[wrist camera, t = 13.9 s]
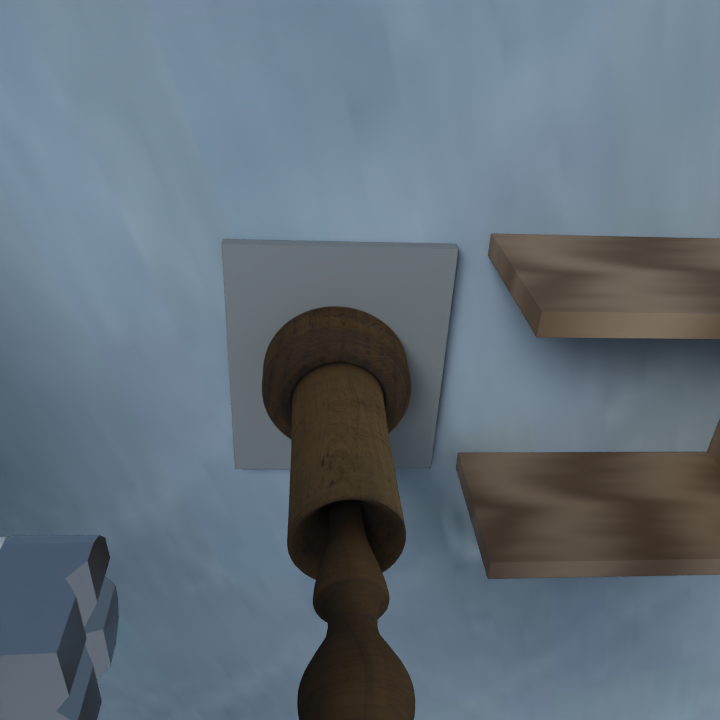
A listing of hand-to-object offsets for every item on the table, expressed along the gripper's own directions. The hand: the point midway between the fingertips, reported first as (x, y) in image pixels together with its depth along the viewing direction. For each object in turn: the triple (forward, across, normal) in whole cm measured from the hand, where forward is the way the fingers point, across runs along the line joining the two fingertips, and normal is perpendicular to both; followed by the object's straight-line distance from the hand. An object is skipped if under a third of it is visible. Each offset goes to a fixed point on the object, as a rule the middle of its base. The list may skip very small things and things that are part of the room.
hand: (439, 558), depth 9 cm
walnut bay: (+21, -14, +10) cm, 27 cm away
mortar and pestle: (+21, 0, +10) cm, 24 cm away
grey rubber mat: (+22, 0, +10) cm, 24 cm away
